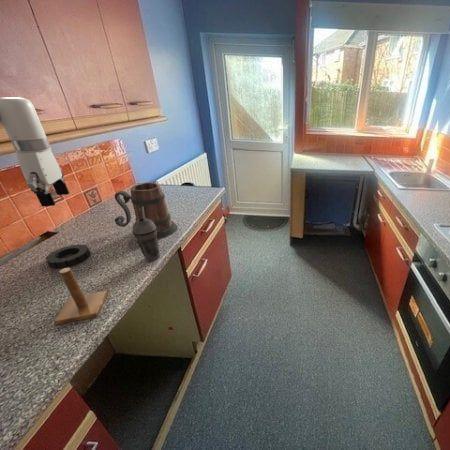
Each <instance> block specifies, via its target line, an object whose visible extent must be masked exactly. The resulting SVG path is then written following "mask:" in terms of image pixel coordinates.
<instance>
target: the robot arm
mask: <svg viewBox="0 0 450 450" xmlns="http://www.w3.org/2000/svg"><path fill="white" fill-rule="evenodd" d="M0 126H3V128H4V130H5V132H6V134H7V137H8V138H9V140H10V142H11V144H12V147H13V148H14V150H15V152H16V157H17V161H18V164H19V167H20V170H21V172H22V175H23V177H24V179H25V181H26V185H27V187H28V188H29V189H30V190H31V192H33V194H34V195H36V198H37V200H38V201H39V203H40V205H41V207H53V206H55V205H56V202H55V199H54V197H53V195H52V193H51V192H49V186H51V185H52V186H53V188H54V191H55V193H56V195H57V196H65V195H67V196H68V195H70V190H69V189H68V186H67V184H66V180H65V178H64V177H65V176H64V174H63V169H62V167H61V166H59V164H58V161H57V159H56V157H55V155H54V154H53V152H52V147H51V144H50V142H49V139H48V137H47V135H46V132H45V130H44V127H43V125H42V123H41V120H40V118H39V116H38V113H37V111H36V108H35V106H34V103H33V102H31V100H30V99H28V98H24V97H0Z"/></svg>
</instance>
